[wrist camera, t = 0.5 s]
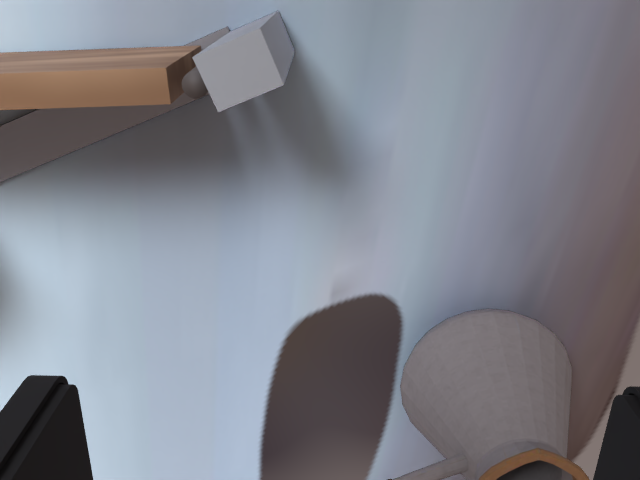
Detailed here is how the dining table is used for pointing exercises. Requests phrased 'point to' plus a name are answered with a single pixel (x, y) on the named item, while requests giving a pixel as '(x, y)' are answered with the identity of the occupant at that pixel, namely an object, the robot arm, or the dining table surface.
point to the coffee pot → (491, 398)
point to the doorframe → (101, 122)
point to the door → (99, 77)
